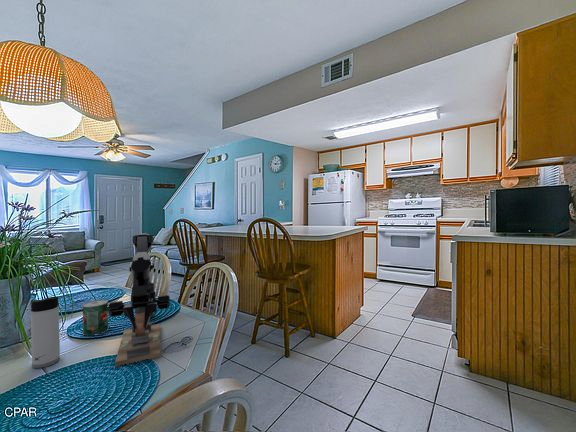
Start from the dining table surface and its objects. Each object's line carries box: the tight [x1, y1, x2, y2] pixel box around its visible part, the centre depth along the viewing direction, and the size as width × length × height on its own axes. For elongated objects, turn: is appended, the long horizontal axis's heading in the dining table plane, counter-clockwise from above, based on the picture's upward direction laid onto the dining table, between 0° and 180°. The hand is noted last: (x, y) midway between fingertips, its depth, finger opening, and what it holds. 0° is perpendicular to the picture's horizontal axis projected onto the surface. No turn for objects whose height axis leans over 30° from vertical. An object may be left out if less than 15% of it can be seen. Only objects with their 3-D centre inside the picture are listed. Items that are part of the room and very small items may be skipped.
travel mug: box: [30, 296, 61, 369], centre depth 80 cm, size 6×7×20 cm
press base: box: [114, 321, 161, 368], centre depth 91 cm, size 24×12×4 cm, turn 26°
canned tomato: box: [82, 299, 109, 336], centre depth 101 cm, size 8×8×11 cm
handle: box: [131, 307, 149, 345], centre depth 89 cm, size 5×5×11 cm
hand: (139, 328), depth 88 cm, fingers closed on handle, 3 cm apart
